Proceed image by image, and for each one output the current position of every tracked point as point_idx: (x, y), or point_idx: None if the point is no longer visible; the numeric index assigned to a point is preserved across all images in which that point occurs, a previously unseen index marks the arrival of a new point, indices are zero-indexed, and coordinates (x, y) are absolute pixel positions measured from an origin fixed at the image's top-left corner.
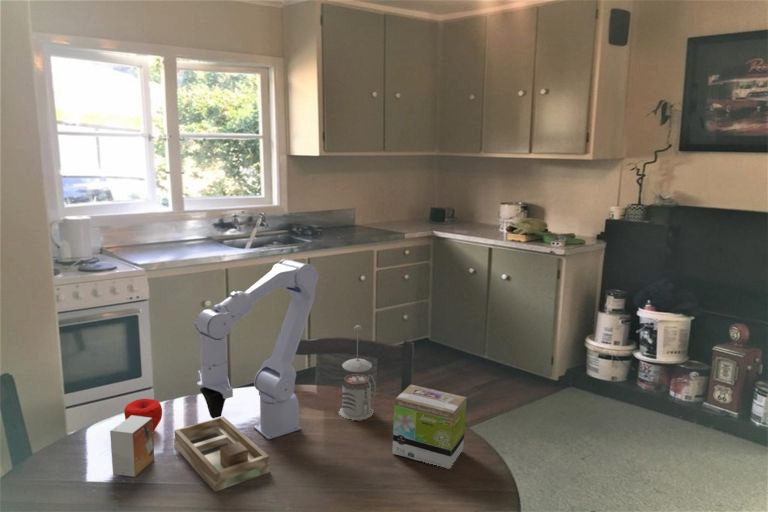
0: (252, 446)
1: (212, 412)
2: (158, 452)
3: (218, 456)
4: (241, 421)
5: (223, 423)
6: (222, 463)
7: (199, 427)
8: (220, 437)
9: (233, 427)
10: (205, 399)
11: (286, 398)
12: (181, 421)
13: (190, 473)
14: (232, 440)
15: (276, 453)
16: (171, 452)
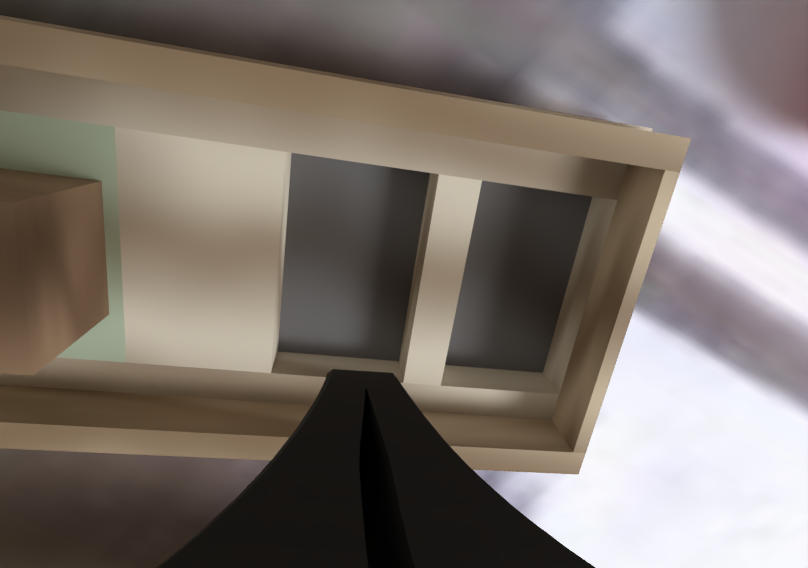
0: (66, 426)
1: (312, 411)
2: (630, 2)
3: (208, 223)
4: (550, 511)
5: (522, 437)
6: (48, 177)
7: (602, 309)
8: (427, 353)
9: None
10: (499, 512)
11: None
12: (803, 304)
13: (237, 13)
14: None
15: (139, 489)
16: (564, 69)
